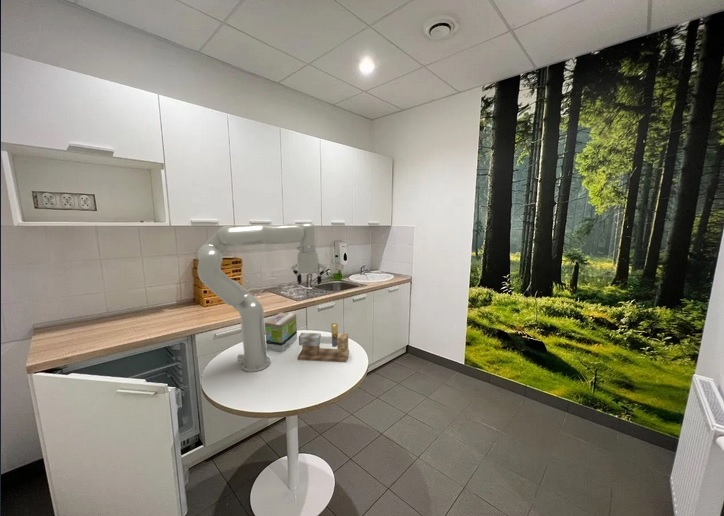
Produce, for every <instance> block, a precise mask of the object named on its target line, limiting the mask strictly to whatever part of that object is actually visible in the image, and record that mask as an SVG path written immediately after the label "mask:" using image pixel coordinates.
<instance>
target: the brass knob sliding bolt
mask: <svg viewBox="0 0 724 516" xmlns="http://www.w3.org/2000/svg"><path fill="white" fill-rule="evenodd" d="M338 324H339V323H336V322H335V323H331V325H330V327H331V336H322V335H321V336H320V337H319V343H320V344H329V345H330V344H331V346H332V348H337V337H338V334H339V333H338V332H339V329H338V328H339V327H338V326H339V325H338Z"/></svg>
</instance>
